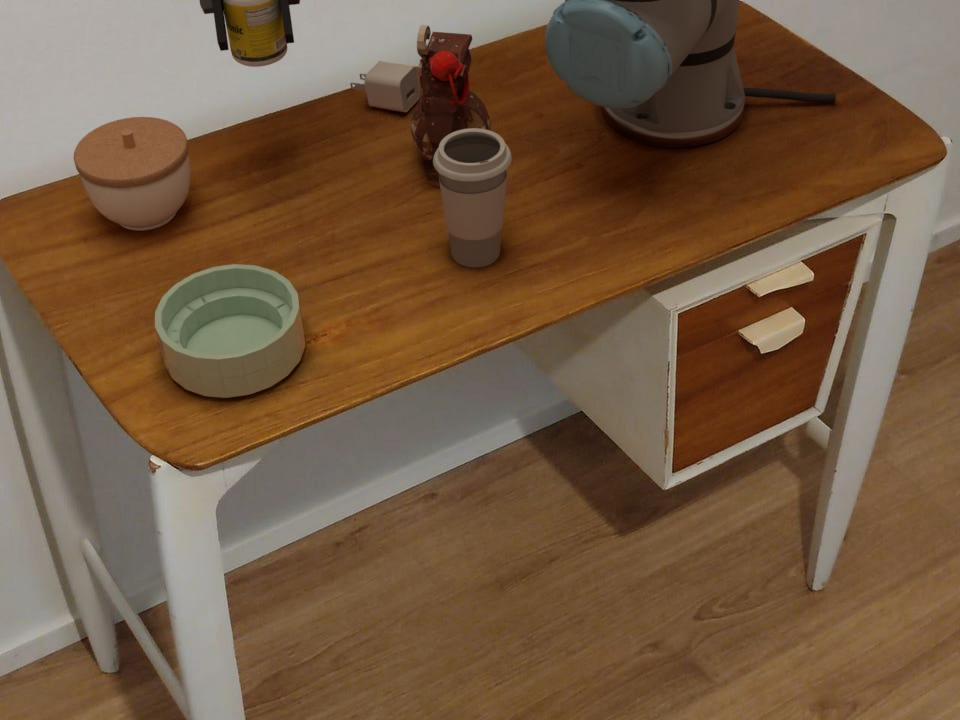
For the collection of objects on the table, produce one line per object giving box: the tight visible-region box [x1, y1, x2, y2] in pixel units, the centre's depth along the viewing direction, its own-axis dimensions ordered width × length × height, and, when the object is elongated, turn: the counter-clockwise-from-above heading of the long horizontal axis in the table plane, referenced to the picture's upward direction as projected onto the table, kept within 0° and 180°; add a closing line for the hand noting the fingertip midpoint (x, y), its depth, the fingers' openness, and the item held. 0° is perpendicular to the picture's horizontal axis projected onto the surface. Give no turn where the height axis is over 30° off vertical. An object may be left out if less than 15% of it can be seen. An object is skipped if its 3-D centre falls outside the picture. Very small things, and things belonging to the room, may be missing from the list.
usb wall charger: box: [349, 60, 422, 113], centre depth 142 cm, size 4×7×4 cm, turn 64°
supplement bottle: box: [222, 0, 288, 68], centre depth 122 cm, size 5×5×10 cm
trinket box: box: [73, 116, 192, 232], centre depth 126 cm, size 11×11×9 cm
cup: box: [433, 128, 513, 269], centre depth 119 cm, size 7×7×12 cm
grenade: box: [410, 24, 492, 188], centre depth 129 cm, size 9×8×15 cm
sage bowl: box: [154, 263, 306, 399], centre depth 112 cm, size 12×12×5 cm
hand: (256, 42), depth 120 cm, fingers closed on supplement bottle, 5 cm apart
